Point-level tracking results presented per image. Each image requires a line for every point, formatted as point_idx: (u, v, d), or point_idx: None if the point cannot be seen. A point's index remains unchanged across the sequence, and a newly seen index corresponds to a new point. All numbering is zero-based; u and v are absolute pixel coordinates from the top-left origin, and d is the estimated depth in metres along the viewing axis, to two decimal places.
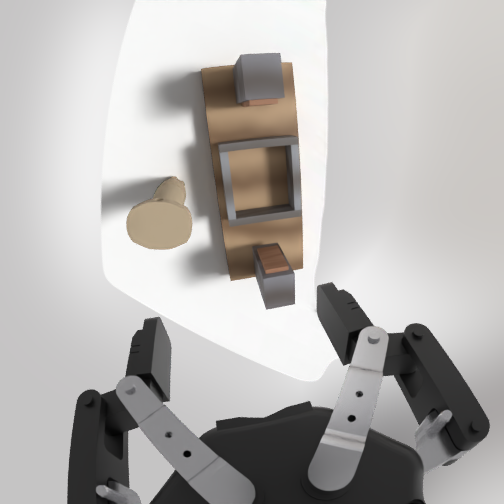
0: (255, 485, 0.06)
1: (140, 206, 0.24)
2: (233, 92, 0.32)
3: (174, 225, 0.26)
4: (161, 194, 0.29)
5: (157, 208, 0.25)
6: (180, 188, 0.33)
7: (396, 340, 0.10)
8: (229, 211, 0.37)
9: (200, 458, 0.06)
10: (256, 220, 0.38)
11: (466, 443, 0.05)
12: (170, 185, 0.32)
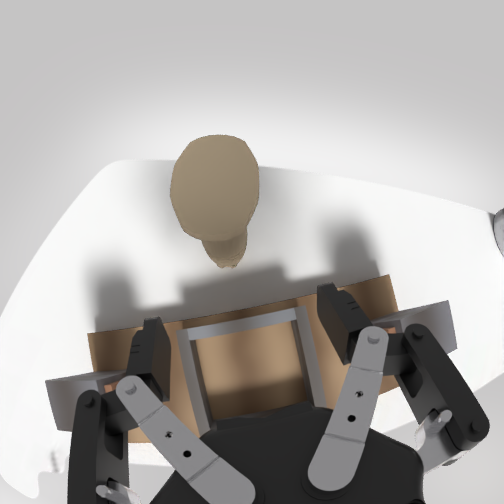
0: (255, 485, 0.06)
1: (250, 154, 0.16)
2: None
3: (216, 205, 0.15)
4: None
5: (247, 178, 0.15)
6: (240, 251, 0.23)
7: (396, 340, 0.10)
8: (200, 329, 0.22)
9: (200, 458, 0.06)
10: (188, 372, 0.21)
11: (466, 443, 0.05)
12: (246, 235, 0.23)
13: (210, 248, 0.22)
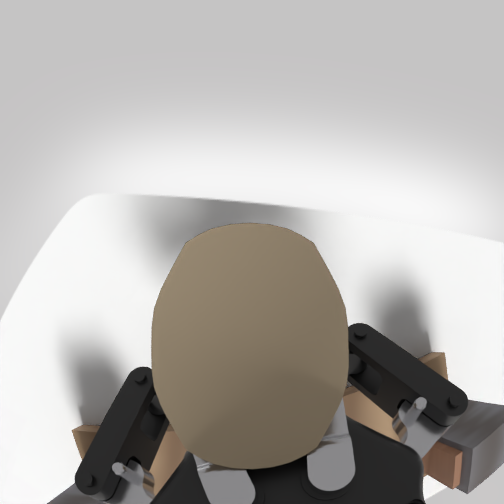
0: (259, 493, 0.05)
1: (329, 280, 0.07)
2: None
3: (259, 413, 0.06)
4: None
5: (325, 347, 0.06)
6: None
7: None
8: None
9: None
10: None
11: (450, 419, 0.06)
12: None
13: None
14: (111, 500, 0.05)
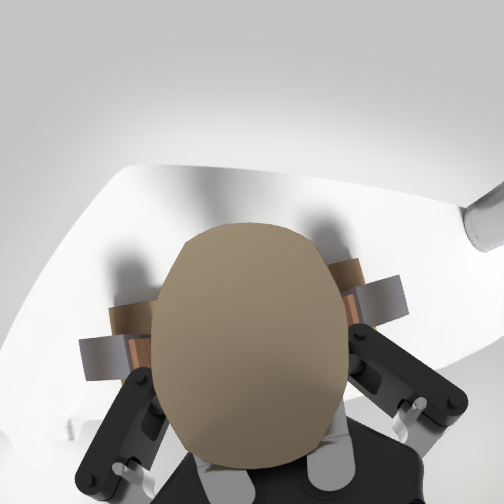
0: (259, 492, 0.05)
1: (329, 280, 0.07)
2: None
3: (259, 413, 0.06)
4: None
5: (324, 347, 0.06)
6: None
7: None
8: None
9: None
10: None
11: (450, 419, 0.06)
12: None
13: None
14: (111, 500, 0.05)
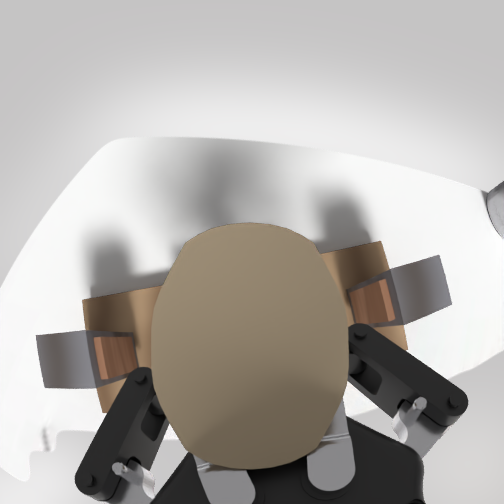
0: (259, 493, 0.05)
1: (329, 280, 0.07)
2: None
3: (258, 413, 0.06)
4: None
5: (325, 347, 0.06)
6: None
7: None
8: None
9: None
10: None
11: (450, 419, 0.06)
12: None
13: None
14: (111, 500, 0.05)
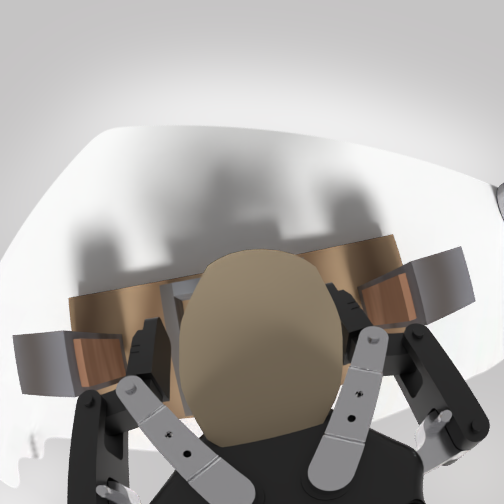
0: (255, 485, 0.06)
1: (328, 298, 0.08)
2: None
3: (268, 407, 0.07)
4: None
5: (323, 353, 0.08)
6: None
7: (396, 340, 0.10)
8: (186, 283, 0.20)
9: (200, 458, 0.06)
10: (171, 333, 0.19)
11: (466, 443, 0.05)
12: None
13: None
14: None
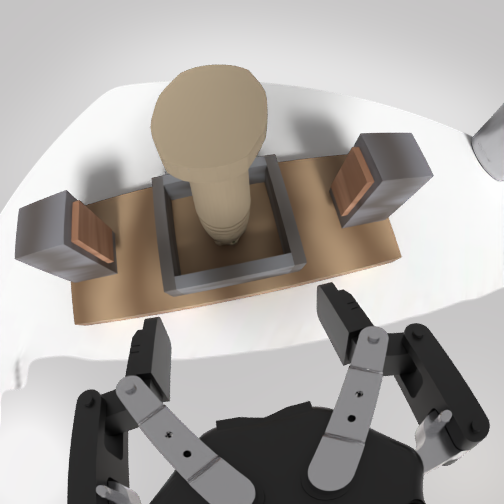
0: (255, 485, 0.06)
1: (256, 82, 0.11)
2: None
3: (210, 133, 0.10)
4: None
5: (252, 105, 0.11)
6: (241, 219, 0.19)
7: (396, 340, 0.10)
8: None
9: (200, 458, 0.06)
10: (158, 214, 0.22)
11: (466, 443, 0.05)
12: (250, 198, 0.19)
13: (205, 213, 0.17)
14: None
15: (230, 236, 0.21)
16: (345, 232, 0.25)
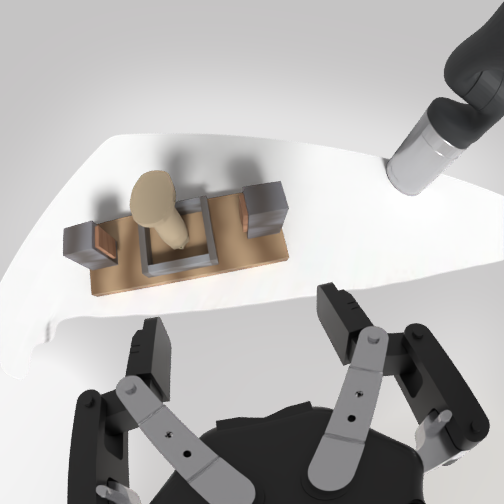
0: (255, 485, 0.06)
1: (170, 181, 0.29)
2: None
3: (150, 209, 0.28)
4: (176, 212, 0.34)
5: (167, 195, 0.28)
6: (179, 236, 0.36)
7: (396, 340, 0.10)
8: None
9: (200, 459, 0.06)
10: (140, 232, 0.40)
11: (466, 443, 0.05)
12: (182, 226, 0.36)
13: (159, 234, 0.35)
14: None
15: (176, 244, 0.38)
16: (249, 241, 0.43)
